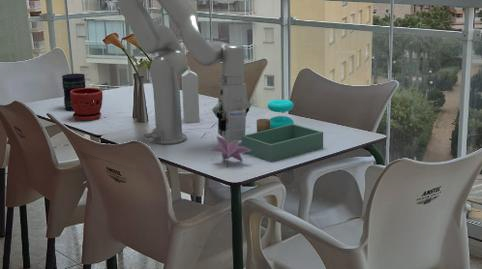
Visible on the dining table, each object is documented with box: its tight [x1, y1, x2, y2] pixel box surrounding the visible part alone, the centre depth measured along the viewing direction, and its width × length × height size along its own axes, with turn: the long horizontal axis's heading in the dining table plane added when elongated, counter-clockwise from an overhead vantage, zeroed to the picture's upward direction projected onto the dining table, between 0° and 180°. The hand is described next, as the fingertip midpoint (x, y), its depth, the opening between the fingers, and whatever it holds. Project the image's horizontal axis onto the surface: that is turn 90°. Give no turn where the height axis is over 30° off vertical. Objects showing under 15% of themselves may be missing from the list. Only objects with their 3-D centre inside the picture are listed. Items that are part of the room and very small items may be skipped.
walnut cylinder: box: [256, 118, 272, 132], centre depth 260 cm, size 5×5×7 cm
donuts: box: [267, 99, 295, 129], centre depth 276 cm, size 10×10×10 cm
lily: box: [211, 135, 251, 168], centre depth 232 cm, size 12×12×10 cm
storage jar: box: [61, 73, 87, 112], centre depth 315 cm, size 10×10×15 cm
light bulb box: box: [217, 109, 247, 143], centre depth 253 cm, size 11×7×11 cm, turn 23°
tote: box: [241, 123, 324, 163], centre depth 246 cm, size 24×16×6 cm, turn 128°
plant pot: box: [70, 87, 104, 122], centre depth 297 cm, size 13×13×12 cm
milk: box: [181, 65, 201, 124], centre depth 287 cm, size 6×6×22 cm
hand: (231, 128), depth 254 cm, fingers closed on light bulb box, 7 cm apart
